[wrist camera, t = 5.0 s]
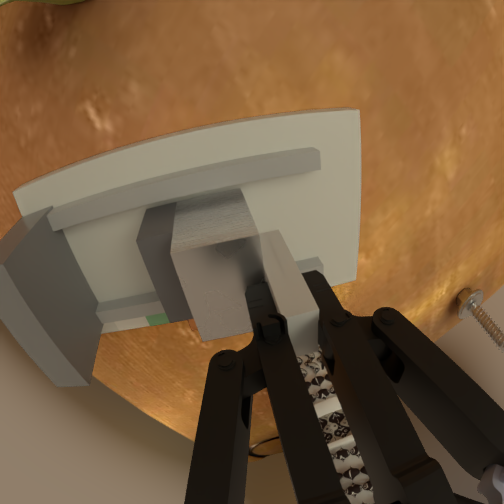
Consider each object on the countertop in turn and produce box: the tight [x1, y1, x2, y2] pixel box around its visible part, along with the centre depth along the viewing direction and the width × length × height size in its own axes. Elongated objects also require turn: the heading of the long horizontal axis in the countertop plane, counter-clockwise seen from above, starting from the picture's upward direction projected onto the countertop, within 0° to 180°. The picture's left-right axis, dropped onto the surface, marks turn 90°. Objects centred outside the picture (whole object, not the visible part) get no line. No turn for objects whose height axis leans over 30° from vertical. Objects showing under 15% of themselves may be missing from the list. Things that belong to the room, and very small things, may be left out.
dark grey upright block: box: [136, 202, 198, 331], centre depth 19 cm, size 9×2×4 cm, turn 8°
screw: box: [456, 288, 504, 353], centre depth 27 cm, size 13×5×5 cm
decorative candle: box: [297, 346, 375, 504], centre depth 22 cm, size 9×9×25 cm
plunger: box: [170, 188, 266, 341], centre depth 17 cm, size 6×4×6 cm, turn 8°
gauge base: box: [0, 107, 361, 387], centre depth 17 cm, size 14×24×8 cm, turn 98°
